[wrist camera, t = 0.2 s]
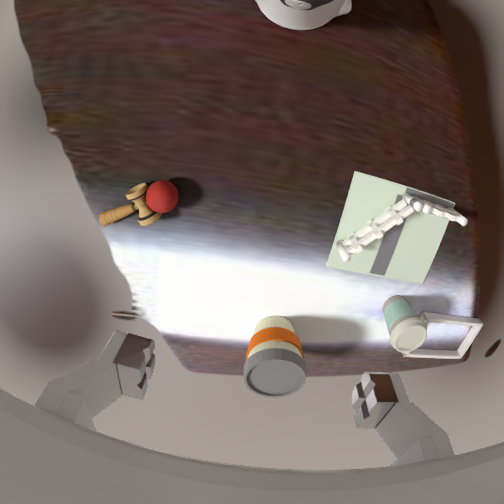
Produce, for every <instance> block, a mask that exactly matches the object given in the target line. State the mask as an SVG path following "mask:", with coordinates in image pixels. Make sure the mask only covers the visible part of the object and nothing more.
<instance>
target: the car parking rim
mask: <svg viewBox="0 0 504 504" xmlns="http://www.w3.org/2000/svg"><path fill="white" fill-rule="evenodd" d="M420 319H422V320H423V321H424V322H425V323H426V324H427V322H428V321H429V322H437V323H447V324H456V325H466V326H473V327H472V328H471V330H470V331H469V333H468V335H467V336H466V338H465V339H464V341H463V342H462V344H461V345H460V347H459V349H458V350H457V351H456V350H434V349H418V348H417V349H415V350H413V351H411V352H406V353H403V352H402V354H403V356H404V357H421V358H450V359H461V358H462V356H463V355H464V353H465V352H466V351H467V349H468V348H469V346H470V345H471V343H472V341H473V340H474V338H475V337H476V335H477V334H478V332H479V330H480V329H481V327H482V326H483V323H482V322H481V320H480V319H477V318H469V317H461V316H453V315H445V314H437V313H430V312H422V314H421V316H420Z"/></svg>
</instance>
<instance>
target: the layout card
mask: <svg viewBox="0 0 504 504" xmlns="http://www.w3.org/2000/svg"><path fill="white" fill-rule="evenodd" d="M405 193H408V194H409V195H411V196H413V195H415V196H417V197H418V198H420V199H421V200H423V201H424V200H426V201H429V202H430V203H432V204H435V205H436V204H438V205H441V206H442V207H444V208H448V207H451V208H452V209H453V208H454V206H455V202H452V201H449V200H446V199H444V198H441V197H438V196H435V195H432V194H429V193H426V192H423V191H420V190H417V189H414V188H411V187H408V186H405V185H402V184H398V183H395V182H392V181H389V180H385V179H382V178H378V177H375V176H372V175H368V174H364V173H361V172H357V171H355V172H354V175H353V179H352V182H351V186H350V190H349V193H348V197H347V200H346V204H345V207H344V210H343V214H342V217H341V220H340V224H339V227H338V230H337V233H336V237H335V240H334V243H333V246H332V249H331V252H330V255H329V258H328V261H327V264H326V267H332V268H337V269H342V270H348V271H353V272H359V273H364V274H369V275H375V276H380V277H385V278H391V279H396V280H402V281H407V282H412V283H418V284H423V282H424V279H425V277H426V275H427V273H428V271H429V268H430V266H431V264H432V262H433V259H434V257H435V255H436V252H437V250H438V248H439V245H440V243H441V240H442V238H443V235H444V233H445V230H446V227H447V225H448V222H449V219H448V218H445V217H439V216H437V215H435V214H433V213H430V214H425V213H424V212H423V211H422V210H421V211H419V212H418V211H416V210H414V209H413V210H414V212H412V213H411V214H409V215H408V216H407V217H405V218H404V219H403V222H402V223H401V224H400V225H397V224H396V225H394V226H393V227H391V228H390V229H389V230H387V231H386V232H384V233H383V237H381V238H380V239H377V238H376V239H374V240H373V241H371V242H370V243H369V244H367V245H366V246H364V247H363V248H362V249H363V250H362V251H361V252H360V253H357V252H355V253H354V254H353V255H351V260H350V261H349V262H344V261H343V260H342V257H341V255H340V253H339V250H338V248H337V246H336V242H337V241H339V240H342V241H344V240H346V239H347V238H348V235H350V234H351V233H352V232H353V234H354V233H356V232H357V231H359V230H360V229H362V228H363V227H364V226H366V225H367V222H368V221H370V220H372V221H373V220H374V219H376V218H377V217H379V216H380V215H381V214H383V213H384V212H386V211H385V209H386V208H388V207H389V206H390V207H393V206H394V205H395V204H397V203H398V202H399V201H401V200H402V199H403V195H404V194H405ZM406 204H407V206H408V205H409V204H408V203H407V202H406ZM407 206H406V207H407ZM404 208H405V207H404ZM404 208H403V209H404ZM400 211H401V210H400ZM400 211H399V212H400ZM397 213H398V212H397ZM390 218H391V217H390ZM390 218H389V219H390ZM389 219H388V220H389ZM386 221H387V220H386ZM386 221H385V222H386ZM383 223H384V222H383ZM383 223H382V224H383ZM382 224H381V225H382ZM379 226H380V225H379ZM379 226H378V227H379ZM371 232H372V231H371ZM369 233H370V232H369ZM369 233H368V234H369ZM366 235H367V234H366ZM366 235H365V236H366ZM363 237H364V236H363ZM363 237H362V238H363ZM362 238H361V239H362ZM359 240H360V239H359ZM359 240H358V241H359ZM350 246H351V245H350ZM350 246H349V247H350ZM347 248H348V247H347Z"/></svg>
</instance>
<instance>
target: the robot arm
mask: <svg viewBox="0 0 504 504" xmlns="http://www.w3.org/2000/svg"><path fill="white" fill-rule="evenodd" d="M255 1H256V2H257V4H258V6H259V8H260V9H261V11H262V12H263V13H264V14H265V16H266V17H268V18H269V19H270V20H271V21H273V22H274V23H276V24H278V25H280V26H283V27H286V28H289V29H294V30H310V29H315V28H318V27H320V26H323V25H324V24H326V23H328V22H329V21H330V20H331V19H333V18H334V17H336V16H340V15H344V14H347V13H349V12H350V10H351V0H255ZM154 347H155V345H154V340H151V339H147V338H144V337H140V336H137V335H133V334H130V333H126V332H122V331H119V330H116V331H115V332H114V333H113V335H112V336H111V338H110V340H109V342H108V343H107V345H106V347H105V349H104V351H103V353H102V354H101V356H100V358H99V359H98V358H94V359H92V360H90V361H88V362H87V363H84V364H83V365H81V366H79V367H77V368H75V369H73V370H71V371H69V372H67V373H65V374H63V375H61V376H59V377H57V378H55V379H53V380H51V381H49V382H48V384H47V385H46V387H45V389H44V390H43V392H42V394H41V395H40V397H39V399H38V400H37V402H36V404H35V405H33V404H31V403H28V402H27V401H25V400H23V399H21V398H19V397H17V396H15V395H13V394H11V393H10V392H8V391H6V390H4V389H2V388H1V387H0V504H504V442H502V443H499V444H496V445H492V446H489V447H486V448H482V449H479V450H475V451H471V452H467V453H463V454H459V455H454V452H453V449H452V446H451V444H450V441H449V438H448V435H447V433H446V432H445V431H444V430H443V429H441V428H440V427H439V426H438V425H437V424H436V423H435V422H434V421H433V420H431V419H430V418H429V417H428V416H427V415H426V414H425V413H424V412H423V411H421V410H420V409H419V408H418V407H417V406H416V405H415V404H414V403H410V402H409V399H408V396H407V393H406V391H405V388H404V385H403V383H402V380H401V377H400V375H399V374H398V373H378V372H365V373H364V374H363V375H362V376H361V378H360V379H361V382H360V383H359V384H357V385H356V386H355V388H354V389H353V392H352V396H351V398H352V399H351V402H352V406H353V408H354V409H355V410H356V413H355V415H354V417H355V422H356V427H357V428H375V431H376V432H377V433H378V434H379V436H380V437H381V438H382V439H383V441H384V442H385V443H386V445H387V446H388V447H389V448H390V450H391V451H392V452H393V453H394V455H395V456H396V457H397V460H396V461H395V462H394V463H393V464H391V466H388V467H379V468H366V469H350V470H291V469H273V468H262V467H251V466H242V465H234V464H227V463H220V462H214V461H208V460H202V459H196V458H191V457H186V456H181V455H177V454H172V453H168V452H163V451H160V450H156V449H151V448H148V447H144V446H141V445H137V444H133V443H130V442H127V441H124V440H120V439H117V438H114V437H111V436H108V435H105V434H102V433H99V432H97V431H96V429H95V426H94V424H93V422H92V418H93V417H94V416H96V415H97V414H98V413H100V412H101V411H102V410H103V409H105V408H106V407H108V406H109V405H110V404H112V403H113V402H114V401H116V400H117V399H118V398H120V397H121V396H122V395H125V396H129V397H133V398H137V399H141V400H143V398H144V396H145V393H146V390H147V387H148V385H147V380H149V379H150V378H151V376H152V373H153V369H154V365H155V355H154V354H153V350H154Z"/></svg>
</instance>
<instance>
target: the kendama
mask: <svg viewBox="0 0 504 504" xmlns="http://www.w3.org/2000/svg"><path fill="white" fill-rule="evenodd" d="M126 196H127V199H128V200H131V201H133V202H134V203H133V204H128V205H124V206H121V207H118V208H114V209H111V210H108V211H105V212H102V213H100V215H99V220H100V223H101V224H102V225H103V226H107V225H109V224H111V223H113V222H115V221H117V220H119V219H121V218H124V217H126V216H128V215H129V214H131V213H133V212H135V211H136V210H138V209H139V218H138V221H139V223H140V224H141V225H142V226H146V225H149V224H151V223H153V222H155V221H156V220H158V219H159V218H160V217H161V215H162V213H166V212H168V211H170V210H172V209H173V208H174V207H175V206H176V204H177V202H178V191H177V188H176V187H175V186H174V185H173V184H172V183H171V182H169V181H166V180H159V181H156V182H154V183H153V184H151V185H150V187H149V188H148V186H147V184H146V183H142V184H139V185H137V186H135V187H134V188H132V189H131V190H129V191H128V192H127V193H126Z"/></svg>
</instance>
